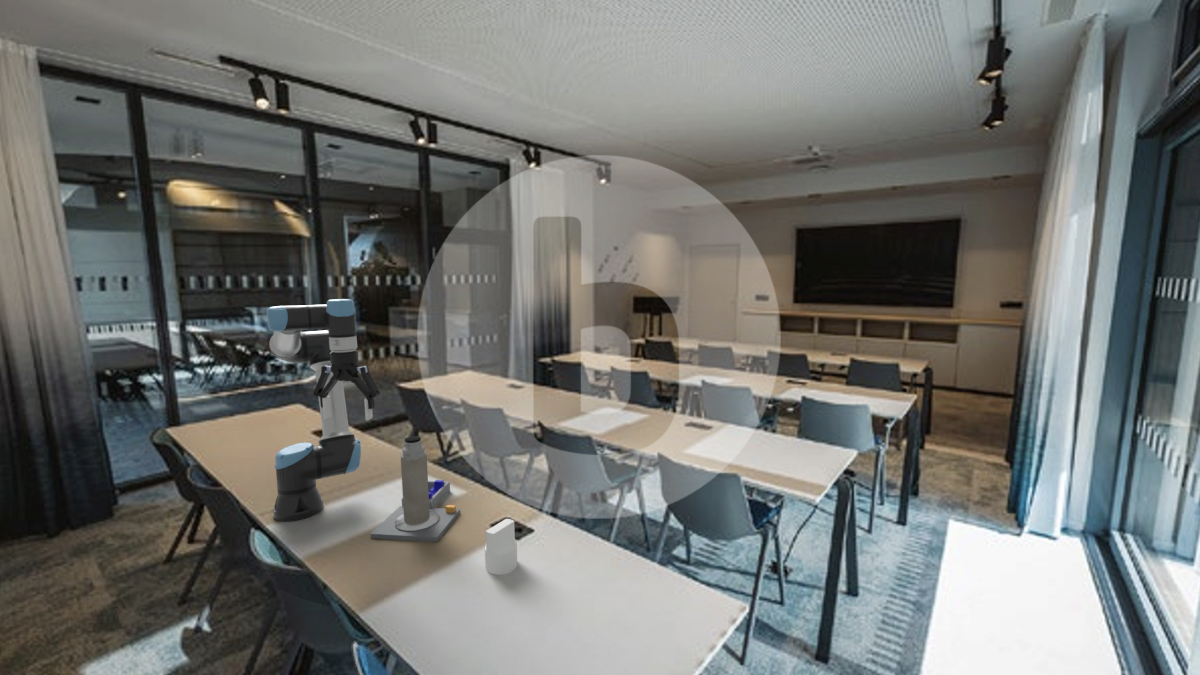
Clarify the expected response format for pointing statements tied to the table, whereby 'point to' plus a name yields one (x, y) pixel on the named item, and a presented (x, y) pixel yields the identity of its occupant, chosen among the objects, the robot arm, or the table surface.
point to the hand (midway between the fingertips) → (348, 418)
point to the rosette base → (421, 532)
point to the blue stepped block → (436, 487)
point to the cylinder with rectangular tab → (501, 548)
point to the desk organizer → (437, 493)
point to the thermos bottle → (415, 482)
